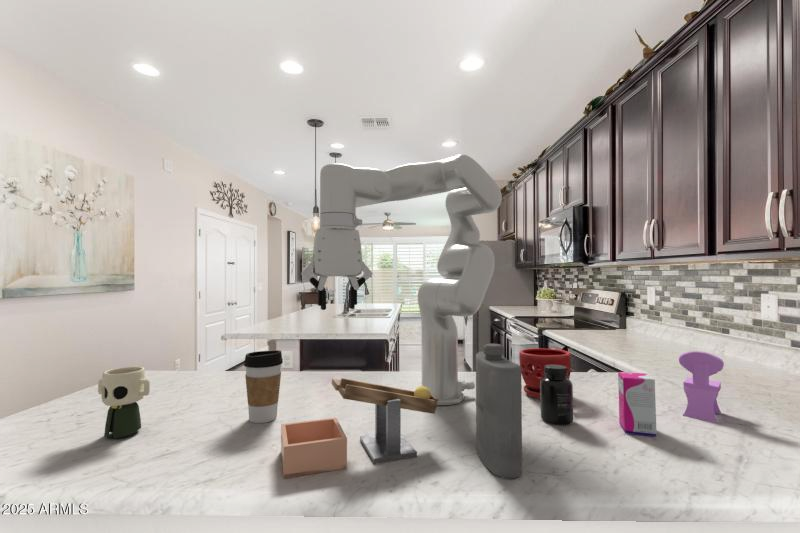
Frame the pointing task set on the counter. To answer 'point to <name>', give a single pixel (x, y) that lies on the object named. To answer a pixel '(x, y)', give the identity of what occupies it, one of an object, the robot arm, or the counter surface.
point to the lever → (383, 395)
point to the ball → (422, 392)
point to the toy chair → (701, 384)
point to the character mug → (123, 399)
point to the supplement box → (637, 403)
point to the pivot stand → (388, 435)
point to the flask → (498, 412)
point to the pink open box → (312, 447)
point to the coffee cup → (263, 384)
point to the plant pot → (540, 366)
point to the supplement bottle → (556, 396)
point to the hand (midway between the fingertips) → (337, 308)
